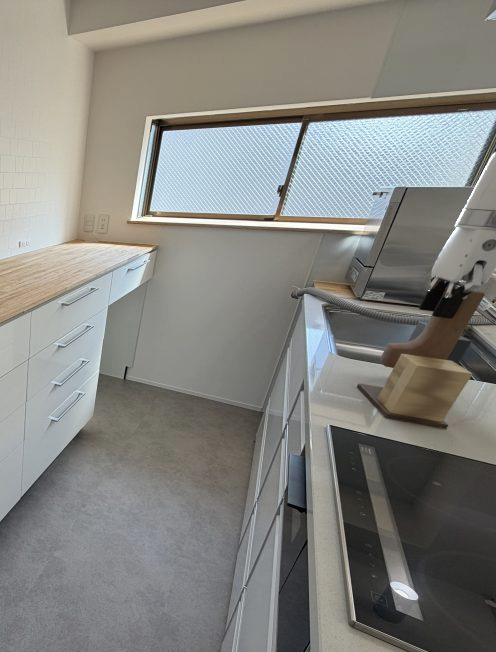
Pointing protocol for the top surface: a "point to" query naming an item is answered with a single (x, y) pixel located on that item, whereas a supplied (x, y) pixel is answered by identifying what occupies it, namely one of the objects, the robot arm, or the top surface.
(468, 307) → the brown l-shaped piece
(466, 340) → the grey books
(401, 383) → the wood cube on plate
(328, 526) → the top surface
